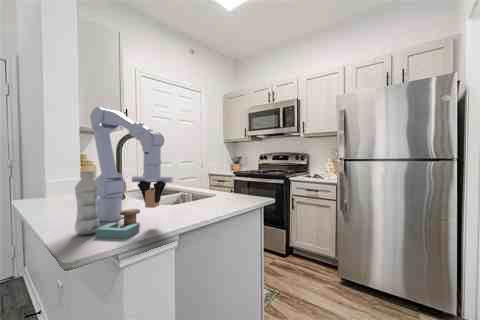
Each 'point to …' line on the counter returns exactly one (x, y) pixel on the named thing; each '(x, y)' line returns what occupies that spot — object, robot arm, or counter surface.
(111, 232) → the notch board
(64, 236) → the counter surface
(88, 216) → the plastic bottle
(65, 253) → the counter surface
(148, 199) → the plug
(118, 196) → the robot arm
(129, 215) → the bobbin
